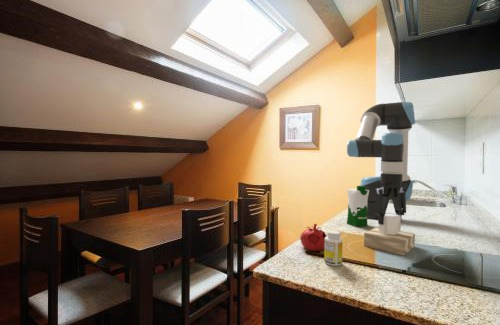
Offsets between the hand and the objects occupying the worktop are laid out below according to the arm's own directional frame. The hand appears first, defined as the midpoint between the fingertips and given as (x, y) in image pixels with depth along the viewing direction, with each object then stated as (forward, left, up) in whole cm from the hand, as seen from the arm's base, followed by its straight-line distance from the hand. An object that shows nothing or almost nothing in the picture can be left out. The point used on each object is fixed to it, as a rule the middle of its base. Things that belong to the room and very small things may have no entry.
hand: (389, 231), depth 107 cm
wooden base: (0, 0, -6) cm, 6 cm away
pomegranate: (+24, -19, -6) cm, 31 cm away
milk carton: (-24, -23, -6) cm, 34 cm away
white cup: (0, 0, -1) cm, 1 cm away
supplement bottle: (+32, -7, -6) cm, 33 cm away
